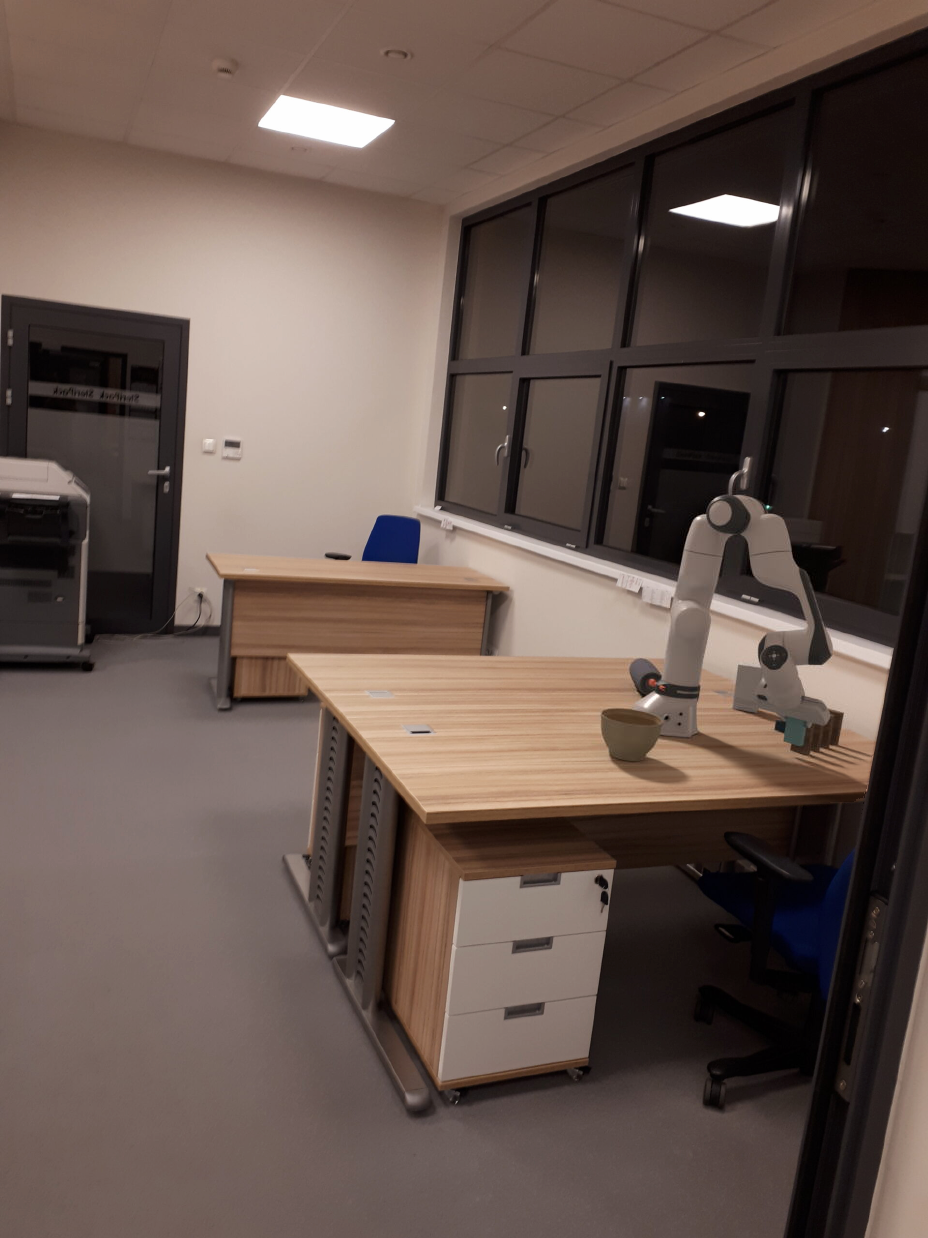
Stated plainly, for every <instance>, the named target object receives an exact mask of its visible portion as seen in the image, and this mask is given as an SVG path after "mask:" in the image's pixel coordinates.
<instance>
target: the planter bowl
mask: <svg viewBox="0 0 928 1238" xmlns="http://www.w3.org/2000/svg"><path fill="white" fill-rule="evenodd" d="M600 718H601V719H600V728H601V729H600V730H601V736H602V739H603V741H604V743H605V745H606V747H607V748H608V754H609V755H610V756H611V757H612V758H615V759H618V760H622V761H626V762H627V761H628V762H640V761H643V760H645V759H646V757H647V755H648V753H650V751H651V750H652V749H653V748H654V747H655V745H656V743H657V742H658V741H659V740H658V739H659V738H660V736H661V735H660V732H661V727H662V725H663V720H662V719H661V718H660V717H658V716H656V715H654V714H651V713H648V712H644V711H639V710H633V709H632V708H624V707H623V708H621V707H617V708H616V707H614V708H612V707H611V708H606V709H602V710H601V712H600Z"/></svg>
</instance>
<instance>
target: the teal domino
mask: <svg viewBox="0 0 928 1238" xmlns="http://www.w3.org/2000/svg"><path fill="white" fill-rule="evenodd" d="M804 722H805V721H804V720H800V719H796V718H793V717H789V716H787V721H786V727H785V733H783V742H784V743H788V744H790V745H791V744H794V745H797V746H802V745H803V744H804V738H805V731H806V727H804Z"/></svg>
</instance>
